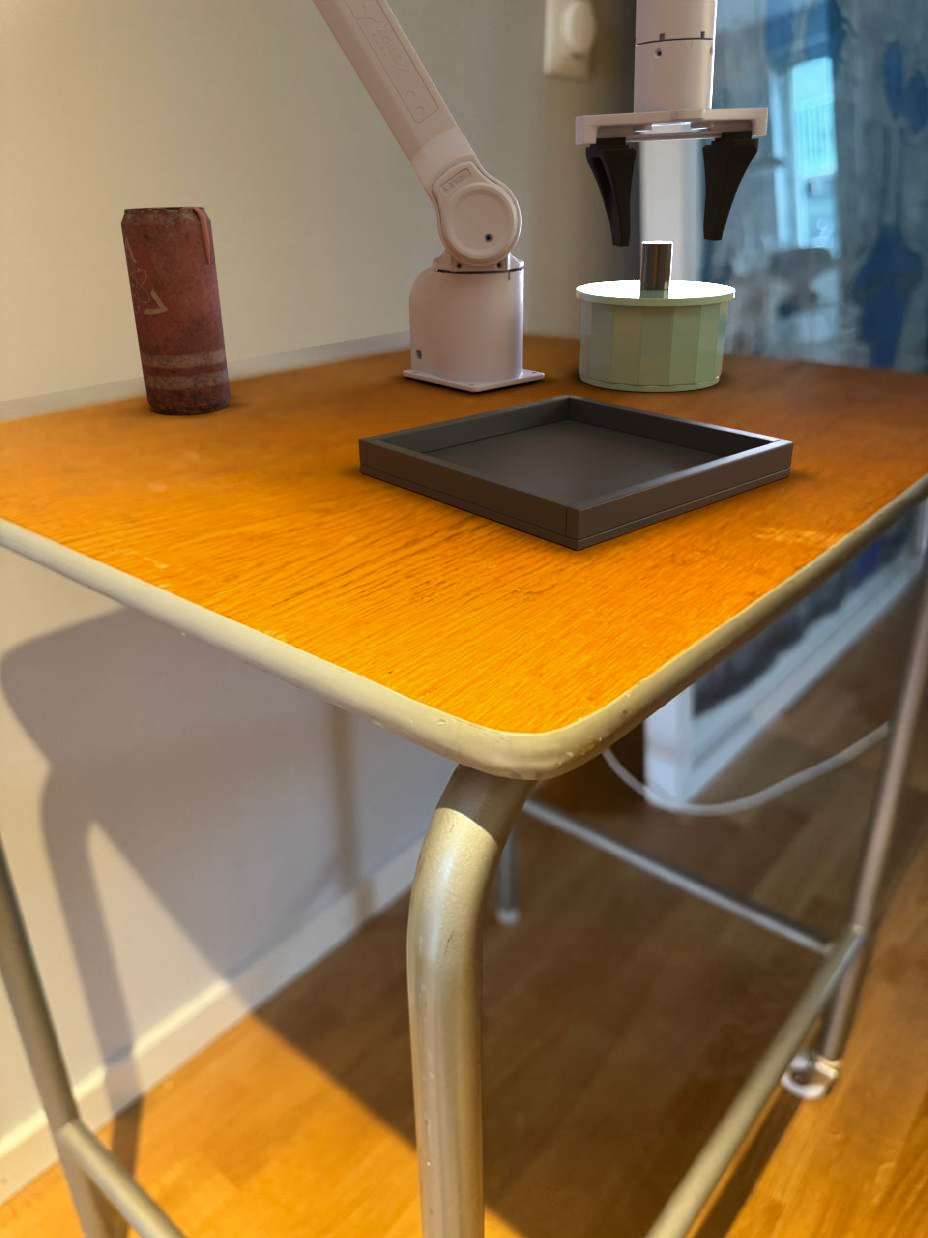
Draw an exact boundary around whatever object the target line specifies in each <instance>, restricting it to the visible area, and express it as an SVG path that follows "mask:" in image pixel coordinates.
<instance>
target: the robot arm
mask: <svg viewBox="0 0 928 1238" xmlns="http://www.w3.org/2000/svg"><path fill="white" fill-rule="evenodd" d="M312 2H313V4H314V5H315V7H316V9H317V11H318V12H319V14H320V15H321V17H322V19H323V20H324V22H325V24H326V25H327V27H328V28H329V31H330V32H331V33H332V36H333V37H334V39H335V40H336V41H337V44H338V46H339V47H340V49H341V50H342V52H343V54H344V56H345V57H346V58H347V60H348V62H349V63H350V65H351V67H352V69H353V70H354V72H355V73H356V74H357V77H358V78H359V80H360V82H361V83H362V85H363V87H364V89H365V90H366V92H367V94H368V95H369V97H370V99H371V101H372V102H373V103H374V105H375V107H376V108H377V111H378V112H379V114H380V115H381V117H382V118H383V120H384V122H385V123H386V125H387V127H388V128H389V131H390V132H391V134H392V135H393V137H394V138H395V141H397V143H398V145H399V148H400V149H401V150H402V152H403V153H404V155H405V156H406V158H407V160H408V162H409V163H410V165H411V166H412V169H413V171H414V173H415V175H416V176H417V178H418V181H419V182H420V184H421V186H422V187H423V189H424V191H425V192H426V194H427V196H428V197H429V199H430V201H431V203H432V205H433V208H434V211H435V216H436V227H437V229H436V230H437V233H438V236H439V240H440V242H441V244H442V246H443V247H444V250H443V252H442V253H441V254H440V255H439V256H437V257H434V258H433V260H432V266H429V267H427V268H425V269H424V270H422V271H421V272H420V273H419V274H418V275H417V276H416V278H415V279H414V282H413V283H412V286H411V288H410V292H409V295H408V319H409V320H408V324H409V349H410V350H409V351H410V352H409V353H410V369H405V370H403V371H402V374H403V377H405V378H410V379H414V380H418V381H423V382H427V383H432V384H437V385H441V386H445V387H449V388H454V389H458V390H460V391H461V390H462V391H465V392H471V393H479V392H484V391H489V390H494V389H499V388H505V387H509V386H515V385H520V384H524V383H525V384H526V383H529V382H530V383H531V382H536V381H540V380H544V379H545V377H546V376H545V373H544V372H540V371H536V370H531V369H530V370H529V369H525V368H523V345H524V343H523V335H524V334H523V331H524V329H523V328H524V324H523V323H524V268H523V267H524V260H523V259H522V258H521V259H520V258H518V257H515V256H514V255H513V254H512V251H513V249H514V248H515V247H516V246H517V243H518V241H519V238H520V235H521V231H522V224H523V221H522V220H523V219H522V211H521V207H520V204H519V201H518V199H517V198H516V196H515V194H514V192H513V191H512V190H511V189H510V188H509V187H508V186H507V185H506V184H505V183H504V182H502V181H500V180H499V179H497V178H496V177H494V176H493V175H491V174H490V173H489V172H488V171H487V170H486V169H485V168H484V166H483V165H482V163H481V162H480V160H479V159H478V156H477V155H476V153H475V151H474V149H473V148H472V146H471V145H470V143H469V141H468V140H467V138H466V136H465V135H464V133H463V132H462V130H461V128H460V127H459V125H458V123H457V121H456V120H455V118H454V116H453V114H452V113H451V111H450V109H449V108H448V105H447V104H446V102H445V100H444V99H443V96H442V95H441V93H440V92H439V90H438V89H437V87H436V85H435V83H434V81H433V79H432V78H431V76H430V74H429V73H428V71H427V69H426V67H425V65H424V64H423V61H421V59H420V57H419V55H418V54H417V52H416V50H415V48H414V47H413V45H412V43H411V41H410V39H409V37H408V36H407V35H406V33H405V30H404V29H403V27H402V25H401V23H400V22H399V20H398V19H397V17H396V15H395V13H394V12H393V10H392V8H391V6H390V5H389V3H388V1H387V0H312ZM635 10H636V12H635V13H636V15H635V47H634V49H635V50H634V85H633V86H634V87H633V88H634V89H633V112H623V113H622V112H621V113H605V114H586V115H578V116H576V117H575V145H576V146H583V145H584V146H585V145H589V146H585V147H584V148H585V150H584V153H585V159H586V163H587V165H588V166H589V168H590V170H591V172H592V175H593V177H594V179H595V181H596V184H597V187H598V189H599V192H600V194H601V195H600V196H601V197H602V200H603V203H604V207H605V211H606V216H607V220H608V224H609V230H610V235H611V237H610V238H611V244H612V246H614V247H619V248H624V247H630V241H631V229H632V228H631V225H632V224H631V223H632V222H631V197H632V188H633V187H632V186H633V180H634V179H633V178H634V177H633V176H634V171H635V164H636V158H637V153H638V151H637V150H636V149H635V148H633V147H631V148H630V144H627V143H637V142H638V143H639V142H658V141H659V142H660V141H661V142H662V141H678V140H681V141H682V140H698V139H699V140H702V139H714V140H711V141H710V144H705V145H704V146H703V147H702V148H701V151H702V158H703V169H704V186H705V187H704V188H705V190H704V206H703V207H704V208H703V220H702V221H703V223H702V229H703V230H702V231H703V232H702V233H703V240H706V241H712V242H716V241H717V242H718V241H722V240H723V237H724V232H725V228H726V225H727V221H728V218H729V215H730V211H731V208H732V205H733V202H734V200H735V197H736V194H737V191H738V190H739V187H740V185H741V182H742V181H743V178H744V176H745V174H746V173H747V171H748V169H749V167H750V165H751V163H752V161H753V160H754V158H755V157H756V155H757V153H758V149H759V143H760V138H758V137H765V136H767V129H768V117H769V115H768V114H769V107H739V108H738V107H737V108H736V107H735V108H712V104H713V103H712V102H713V87H714V86H713V85H714V70H715V69H714V68H715V66H714V65H715V49H716V34H717V33H716V31H717V15H718V13H717V12H718V0H636V9H635ZM678 125H690V130H703V131H680V132H679V131H678V132H661V133H660V132H658V133H657V132H656V133H642V132H652V131H653V127H659V126H678ZM704 129H706V130H704ZM640 132H641V133H642V134H641V133H640ZM638 133H640V134H638ZM753 137H755V138H753Z"/></svg>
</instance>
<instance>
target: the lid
mask: <svg viewBox="0 0 928 1238" xmlns="http://www.w3.org/2000/svg"><path fill="white" fill-rule="evenodd" d="M673 246H674V243H673V242H672V241H667V240H666V241H665V240H664V241H663V240H654V241H652V240H651V241H642V242H641V252H640V253H641V254H640V255H641V256H640V269H639V270H640V272H639V279H638V280H637V279H636V280H635V279H633V280H615V281H613V280H612V281H602V282H592V283H587V284H583V285H579V286H578V287H576V288H575V297H576V299H578V300H580V301H582V300H583V301H587V302H593V303H599V304H608V305H621V306H643V307H675V306H697V305H709V304H716V303H722V302H727V301H728V302H730V301H732V300H733V299H734V298H735V292H736V289H735V288H734V287H731V286H728V285H724V284H719V283H712V282H705V281H704V282H703V281H691V280H671V276H672V275H671V274H672V261H673V260H672V259H673V248H674V247H673Z"/></svg>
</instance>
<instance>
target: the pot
mask: <svg viewBox="0 0 928 1238" xmlns="http://www.w3.org/2000/svg"><path fill="white" fill-rule="evenodd" d="M580 301H581V303H580V329H579V331H580V332H579V361H578V378H579V380H580V381H582V382H583V383H585V384H588V385H591V386H593V387H598V388H603V389H608V390H615V391H624V392H636V393H637V392H638V393H676V392H686V391H687V392H689V391H695V390H701V389H706V388H709V387H712V386H715V385H717V384H718V383H719V382H720V380H721V376H722V372H723V362H724V353H725V341H726V331H727V323H728V322H727V320H728V309H729V301H727V302H722V303H716V304H709V305H697V306H675V307H643V306H621V305H608V304H599V303H593V302H587V301H583V300H580Z"/></svg>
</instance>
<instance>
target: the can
mask: <svg viewBox="0 0 928 1238" xmlns="http://www.w3.org/2000/svg"><path fill="white" fill-rule="evenodd" d="M120 228H121V229H120V230H121V235H122V242H123V249H124V254H125V262H126V269H127V275H128V281H129V288H130V295H131V302H132V309H133V315H134V321H135V329H136V335H137V343H138V348H139V354H140V361H141V368H142V374H143V375H142V376H143V381H144V388H145V389H144V390H145V395H146V401H147V403H148V404H149V406H150V407H151V409H153V411H154V412H156V413H159V414H164V415H181V416H183V415H197V414H204V413H211V412H215V411H218V410H221V409H224V408H226V407H227V405H228V403H229V401H230V399H231V396H232V394H231V385H230V377H229V368H228V359H227V351H226V343H225V334H224V325H223V317H222V307H221V298H220V290H219V281H218V273H217V265H216V264H217V263H216V255H215V247H214V238H213V237H214V236H213V229H212V221H211V219H210V217H209V215H208V214H207V212H206V211H205V207H203V206H166V207H165V206H164V207H163V206H162V207H139V208H137V207H136V208H125V209H123V214H122V218H121V221H120Z"/></svg>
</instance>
